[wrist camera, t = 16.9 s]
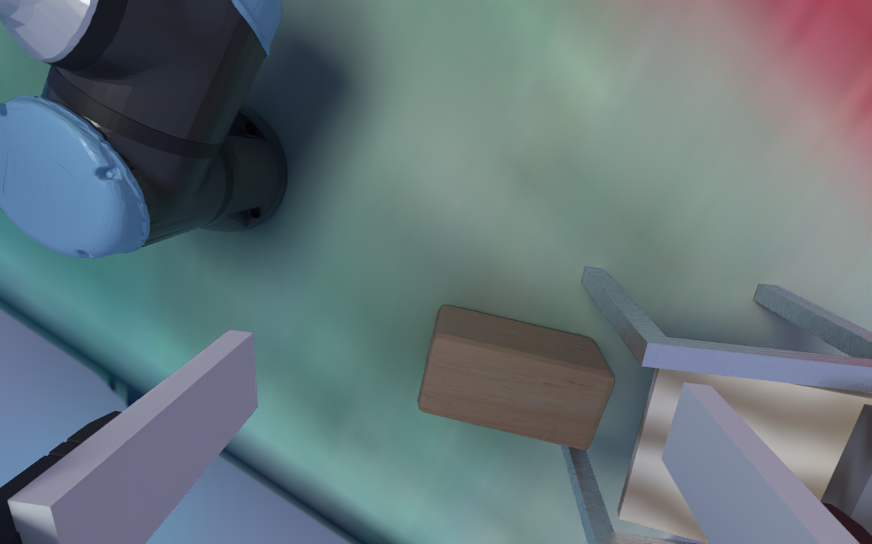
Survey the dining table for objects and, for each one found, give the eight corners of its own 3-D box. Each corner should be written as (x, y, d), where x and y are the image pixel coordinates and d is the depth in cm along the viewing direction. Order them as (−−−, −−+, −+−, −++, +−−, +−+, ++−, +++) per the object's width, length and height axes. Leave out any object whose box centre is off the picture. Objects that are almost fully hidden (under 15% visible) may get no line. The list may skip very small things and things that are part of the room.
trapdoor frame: (584, 266, 51) (647, 342, 32) (776, 285, 49) (963, 377, 30) (554, 420, 57) (592, 560, 38) (722, 441, 56) (848, 597, 37)
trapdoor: (659, 353, 36) (670, 377, 32) (940, 406, 31) (990, 441, 27) (617, 510, 41) (622, 546, 37) (852, 574, 36) (885, 623, 33)
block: (571, 402, 56) (425, 367, 57) (595, 336, 53) (440, 300, 54) (590, 455, 47) (414, 413, 47) (620, 379, 44) (432, 335, 44)
